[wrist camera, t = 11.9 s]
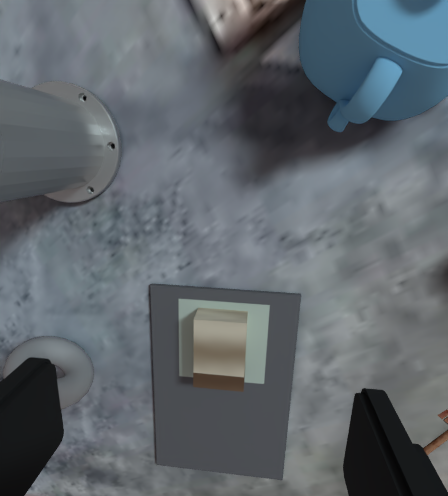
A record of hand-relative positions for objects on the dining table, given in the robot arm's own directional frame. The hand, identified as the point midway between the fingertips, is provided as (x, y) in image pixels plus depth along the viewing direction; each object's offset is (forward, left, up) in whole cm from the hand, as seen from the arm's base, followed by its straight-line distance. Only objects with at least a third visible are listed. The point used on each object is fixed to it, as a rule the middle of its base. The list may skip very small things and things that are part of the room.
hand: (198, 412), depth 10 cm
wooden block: (-2, -15, -28) cm, 32 cm away
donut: (-22, -18, -28) cm, 40 cm away
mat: (-2, -22, -28) cm, 36 cm away
